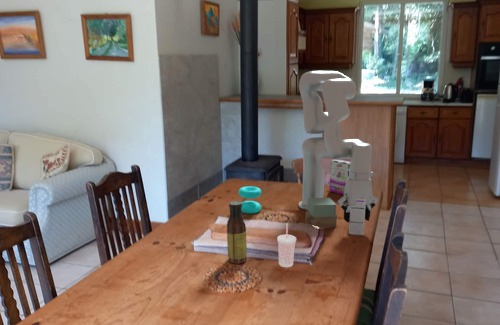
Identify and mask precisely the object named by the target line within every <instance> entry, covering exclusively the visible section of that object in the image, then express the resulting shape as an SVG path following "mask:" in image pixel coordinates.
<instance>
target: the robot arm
mask: <svg viewBox="0 0 500 325" xmlns="http://www.w3.org/2000/svg"><path fill="white" fill-rule="evenodd" d="M298 88H299V89H298V90H299V94H300V96H301V101H302V111H303V113H302V114H303V127H304V130H305V132H306V134H309V135H323V136H317V137H315V136H314V137H309V138H306V139H305V140H304V141H303V142H302V144H301V152H302V161H303V166H302V168H303V172H302V174H303V175H302V198H301V201H299V202H298V207H299V208H300V209H302V210H305V211H308V198H325V196H324V195H325V178H326V177H325V175H326V169H325V165H324V164H323V162H322V160H323V159H331V160H334V159H335V160H349V159H350V175H349V178H348V179H347V181H346V184H345V189H344V195H342V197H340V199H338V200H337V202H336V203H337V204H338V205H339V206H340V208H341V209H342V211H343V220H344V221H345V222H346V223H349V222H350V212H349V211H350V206H355V204H356V202H357V199H358V198H366V204H365V221H370V218H371V211H372V210H373V208H374V207H375V206H376V204H377V203H378V201H379V198H377V197H376V196H375V195H373V183H372V182H373V181H372V179H371V177H372V176H374V172H373V171H371V169H372V156H373V147H372V145H371V144H370V143H368V142H363V141H362V140H360V139H357V138H350V139H349V138H348V139H342V138H341V137H342V136H341V123H340V122H343V121H345V120H346V119H348V117H349V116H350V115H351V111H350V108H349V104H348V101H349V100H352V99H354V98H355V96H356V95H357V85H356V83H355V81H354V80H353V79H352V78H350V77H349V76H347V75H344V74H343V73H342V72H339V71H337V70H336V71H335V70H312V71H311V70H310V71H307V72H305V73H302V75H301V76H300V79H299V83H298ZM318 92H321V95H322V98H321V96H320V95H319V94H318ZM322 99H323V100H322ZM323 101H324V103H323ZM323 104H324V105H325V108H326V109H325V110H326V111H324V109H323V108H324V107H323V106H324V105H323ZM344 203H345V204H344Z"/></svg>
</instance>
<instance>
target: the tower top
mask: <svg viewBox="0 0 500 325" xmlns="http://www.w3.org/2000/svg"><path fill="white" fill-rule="evenodd" d="M307 211H309V212H310V214H311V215H312V217H336V215H337V212H336V211H337V204H336V203H335V201H334V200H333V199H332V198H331V197H324V198H308V210H307Z"/></svg>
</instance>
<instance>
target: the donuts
mask: <svg viewBox="0 0 500 325" xmlns="http://www.w3.org/2000/svg"><path fill="white" fill-rule="evenodd" d="M238 195H239V196H240V197H241V198H244V199H256V198H259V197H260V196H261V195H262V190H261V188H259V187H257V186H251V185H250V186H249V185H248V186H243V187H240V188H239V189H238ZM241 203H242V208H241V211H242V214H243V213H244V214H256V213H258V212H260V211H261V209H262V205H261V203H259V202H257V201H254V200H244V201H242V202H241Z"/></svg>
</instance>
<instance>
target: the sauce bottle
mask: <svg viewBox="0 0 500 325" xmlns="http://www.w3.org/2000/svg"><path fill="white" fill-rule="evenodd" d="M228 204H229V206H228V207H229V217H228V219H227V223H226V239H227V240H226V241H227V257H228V261H229V262H230V263H232V264H236V265H237V264H238V265H239V264H242V263H243V264H244V263H245V262H246V261H247V255H248V252H247V251H248V250H247V247H248V246H247V228H246V227H247V226H246V223H245V220H244V218H243V212H242V211H241V208H242V202H241V201H239V200H237V201H235V200H234V201H230V202H229V203H228Z"/></svg>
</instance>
